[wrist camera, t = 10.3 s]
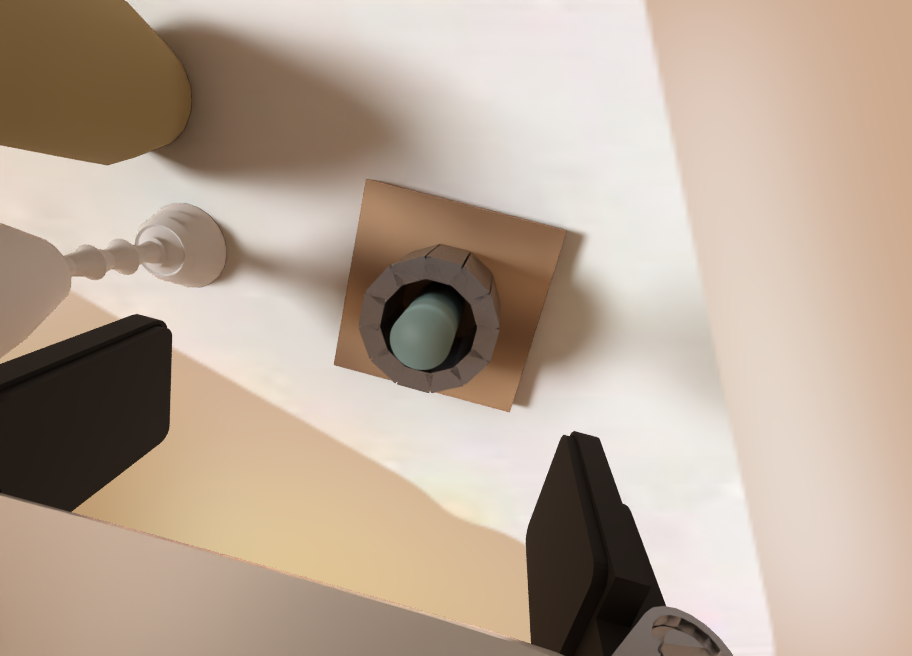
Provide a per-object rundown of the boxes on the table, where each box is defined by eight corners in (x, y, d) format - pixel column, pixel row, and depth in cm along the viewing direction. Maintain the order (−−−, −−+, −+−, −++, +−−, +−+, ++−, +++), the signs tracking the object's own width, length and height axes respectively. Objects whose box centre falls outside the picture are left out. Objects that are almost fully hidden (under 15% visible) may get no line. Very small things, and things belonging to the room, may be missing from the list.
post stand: (372, 179, 25) (313, 174, 18) (563, 229, 25) (590, 245, 17) (340, 357, 29) (279, 419, 21) (509, 403, 28) (511, 483, 21)
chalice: (115, 193, 27) (-555, 194, 10) (219, 173, 26) (-325, 136, 9) (157, 311, 29) (-344, 482, 12) (254, 297, 28) (-137, 460, 11)
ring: (399, 232, 25) (374, 241, 20) (512, 262, 25) (514, 279, 20) (377, 339, 27) (349, 371, 22) (481, 368, 27) (477, 406, 22)
